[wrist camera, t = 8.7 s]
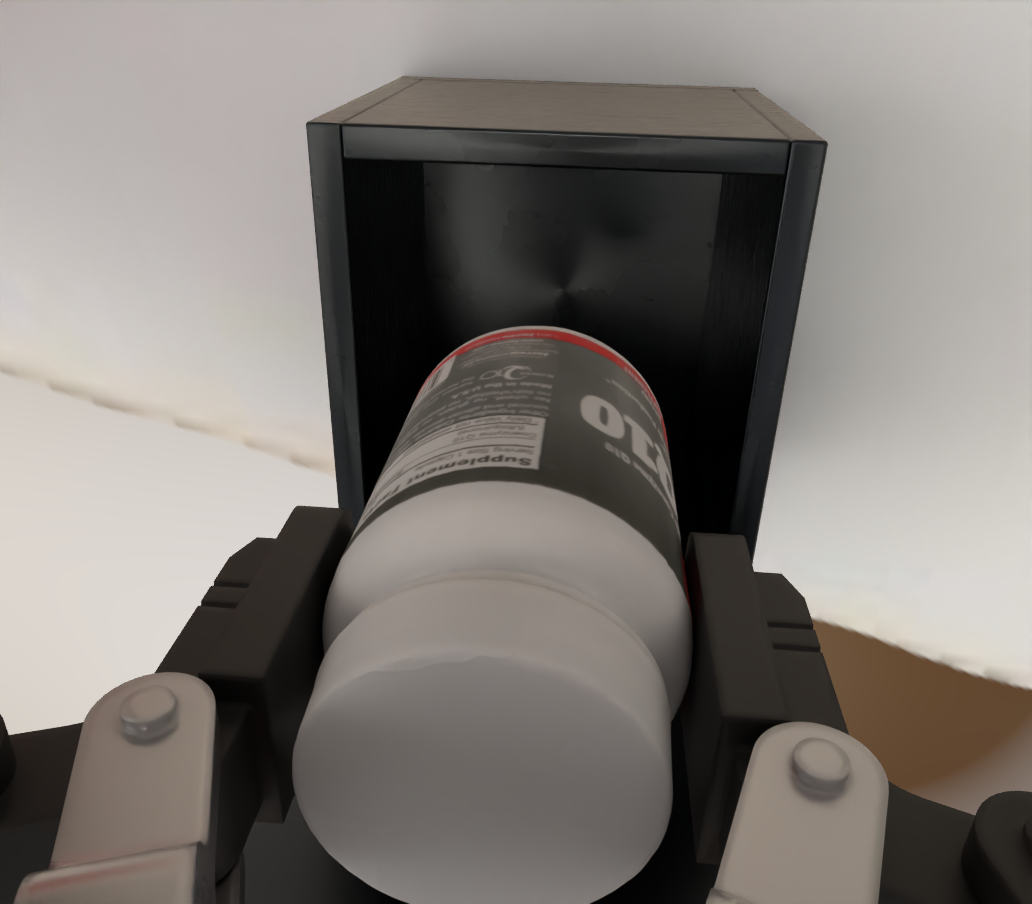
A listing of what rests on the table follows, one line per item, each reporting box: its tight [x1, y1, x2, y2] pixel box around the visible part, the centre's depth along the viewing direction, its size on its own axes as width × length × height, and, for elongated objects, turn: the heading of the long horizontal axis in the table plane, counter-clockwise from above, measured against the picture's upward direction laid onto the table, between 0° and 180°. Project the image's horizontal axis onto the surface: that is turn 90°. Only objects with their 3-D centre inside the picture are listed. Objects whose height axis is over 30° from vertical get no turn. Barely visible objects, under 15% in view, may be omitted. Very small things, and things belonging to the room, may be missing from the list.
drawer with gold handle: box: [243, 706, 720, 904], centre depth 19 cm, size 14×12×5 cm
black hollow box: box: [306, 76, 828, 564], centre depth 28 cm, size 14×12×11 cm
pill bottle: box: [292, 326, 693, 904], centre depth 13 cm, size 5×5×8 cm
